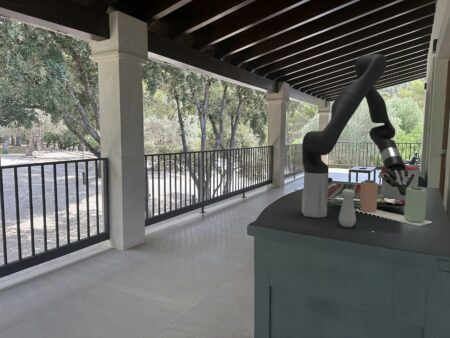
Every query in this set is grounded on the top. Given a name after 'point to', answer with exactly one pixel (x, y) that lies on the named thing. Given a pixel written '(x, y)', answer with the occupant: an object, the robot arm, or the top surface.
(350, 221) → the salt shaker
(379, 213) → the button board
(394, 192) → the red roofed toy house
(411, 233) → the top surface
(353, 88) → the robot arm
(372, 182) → the light brown tall block
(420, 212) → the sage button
